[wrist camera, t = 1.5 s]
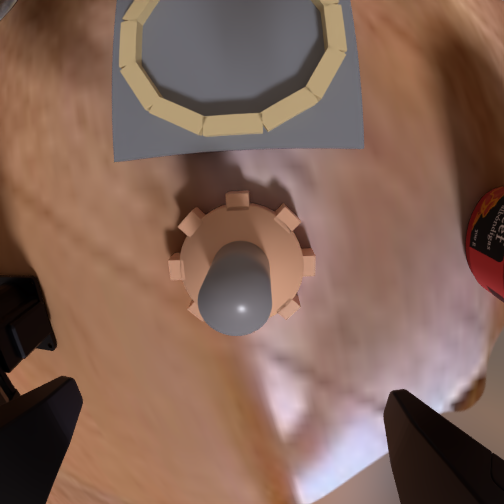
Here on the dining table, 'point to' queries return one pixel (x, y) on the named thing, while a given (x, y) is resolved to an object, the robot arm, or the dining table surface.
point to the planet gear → (241, 264)
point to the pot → (6, 7)
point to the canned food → (487, 242)
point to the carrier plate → (234, 76)
